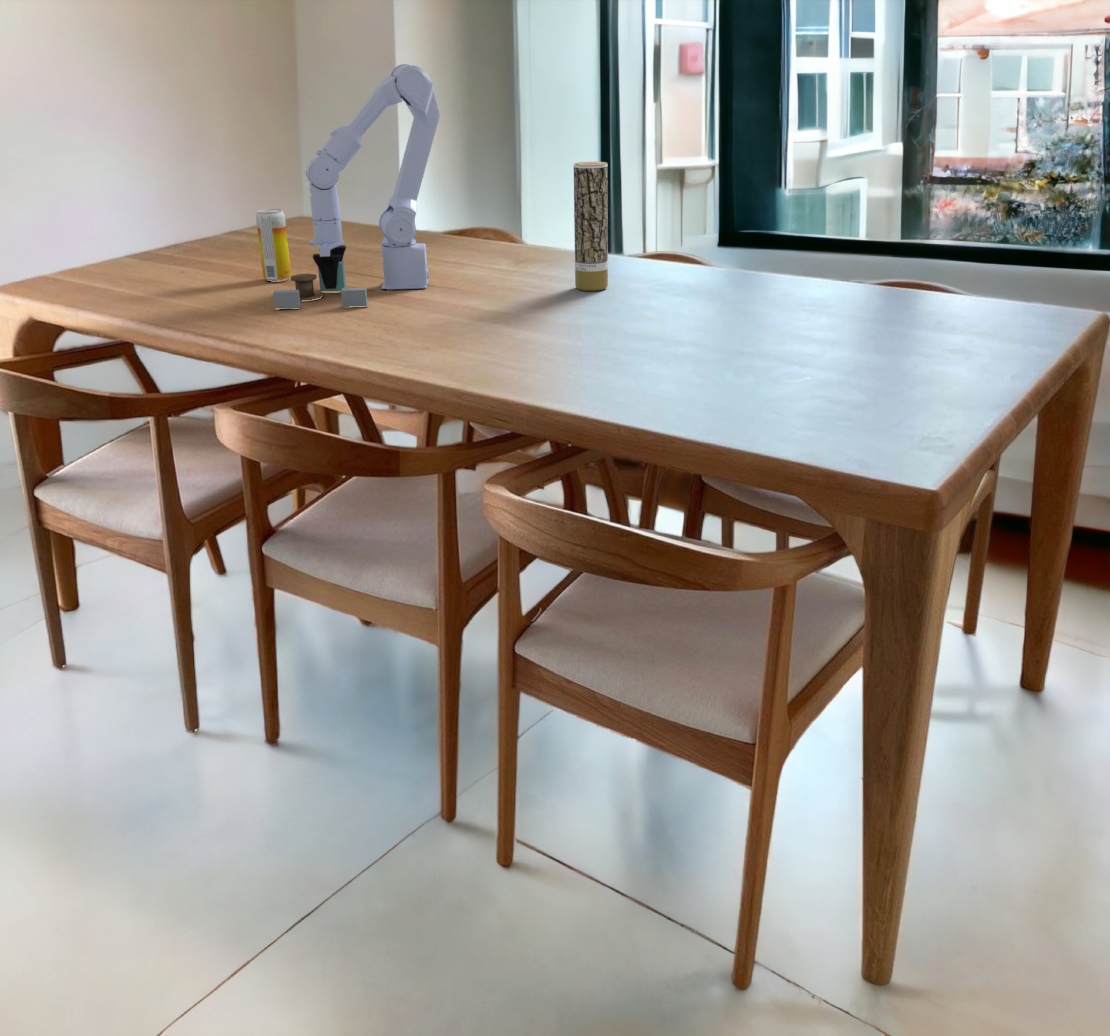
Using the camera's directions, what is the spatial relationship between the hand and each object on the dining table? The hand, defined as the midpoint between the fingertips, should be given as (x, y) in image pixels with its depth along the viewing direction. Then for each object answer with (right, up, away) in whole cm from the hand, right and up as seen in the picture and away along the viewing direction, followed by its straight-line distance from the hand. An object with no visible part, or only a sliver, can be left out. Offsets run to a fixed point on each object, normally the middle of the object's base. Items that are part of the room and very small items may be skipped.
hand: (333, 284), depth 239 cm
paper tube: (+54, -1, -2) cm, 54 cm away
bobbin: (-5, -4, -5) cm, 8 cm away
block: (0, -1, +1) cm, 2 cm away
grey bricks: (0, -7, -13) cm, 15 cm away
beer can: (-15, +3, +12) cm, 20 cm away
